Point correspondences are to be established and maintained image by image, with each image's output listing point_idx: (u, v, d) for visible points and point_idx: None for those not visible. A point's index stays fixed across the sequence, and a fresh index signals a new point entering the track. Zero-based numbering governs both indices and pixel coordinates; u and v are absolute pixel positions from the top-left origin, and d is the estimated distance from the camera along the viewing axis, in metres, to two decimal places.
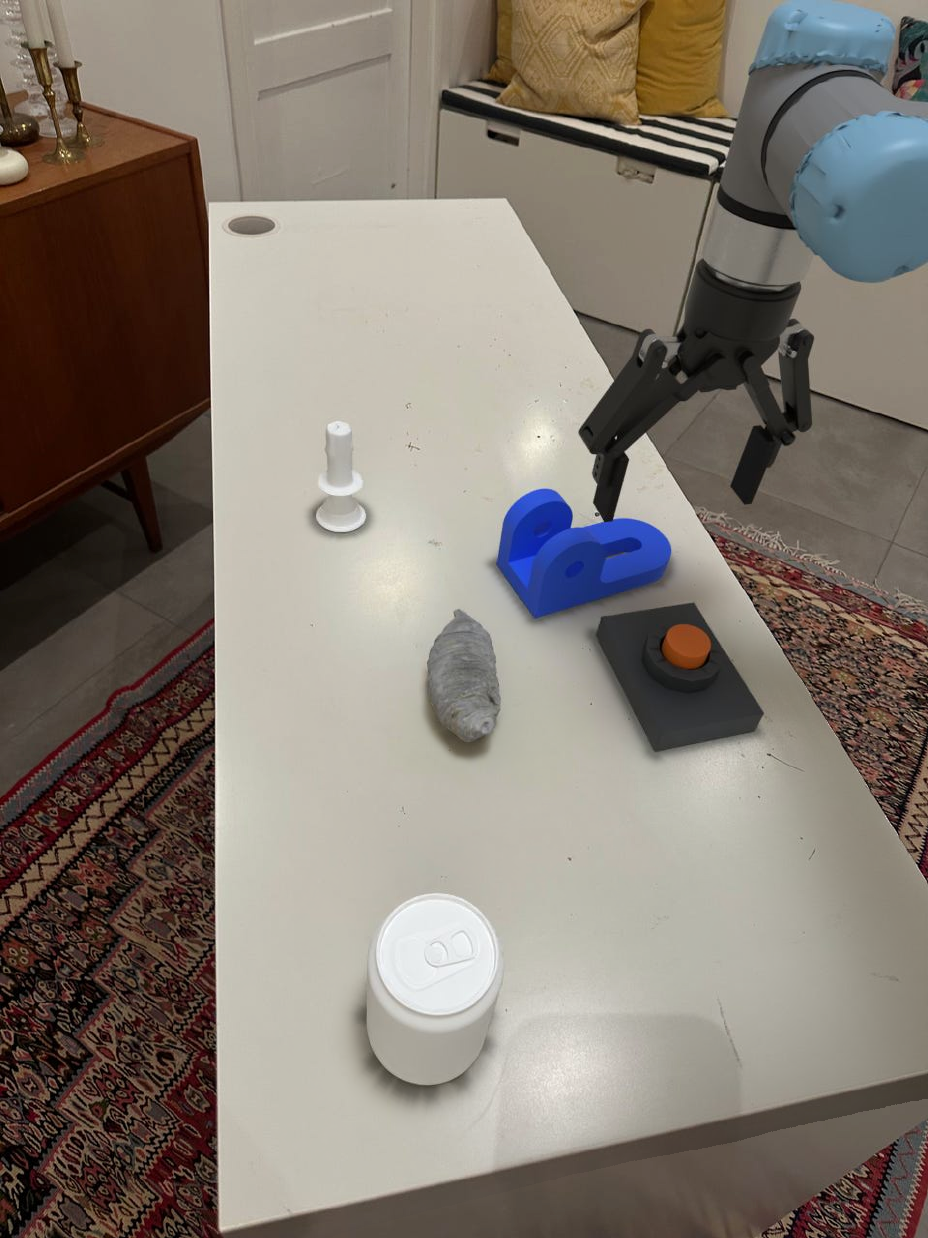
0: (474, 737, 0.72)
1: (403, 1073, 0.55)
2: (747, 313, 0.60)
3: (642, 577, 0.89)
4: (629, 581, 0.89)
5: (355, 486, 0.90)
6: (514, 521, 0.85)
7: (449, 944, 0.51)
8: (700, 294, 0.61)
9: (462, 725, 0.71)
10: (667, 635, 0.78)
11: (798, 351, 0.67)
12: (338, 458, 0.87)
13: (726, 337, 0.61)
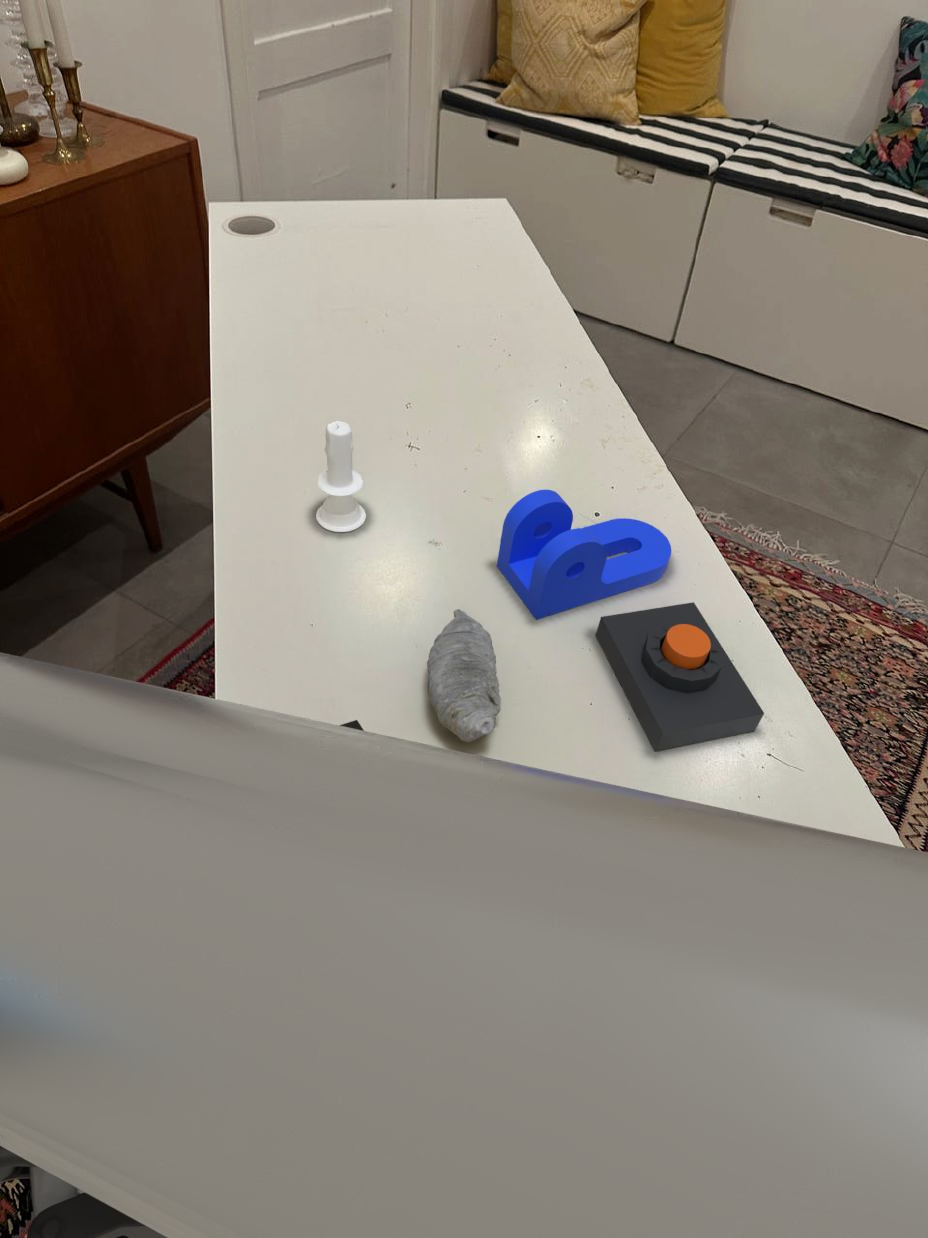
0: (474, 737, 0.72)
1: None
2: None
3: (643, 577, 0.89)
4: (629, 581, 0.89)
5: (355, 486, 0.90)
6: (515, 522, 0.85)
7: None
8: None
9: (462, 725, 0.71)
10: (667, 635, 0.78)
11: None
12: (338, 458, 0.87)
13: None
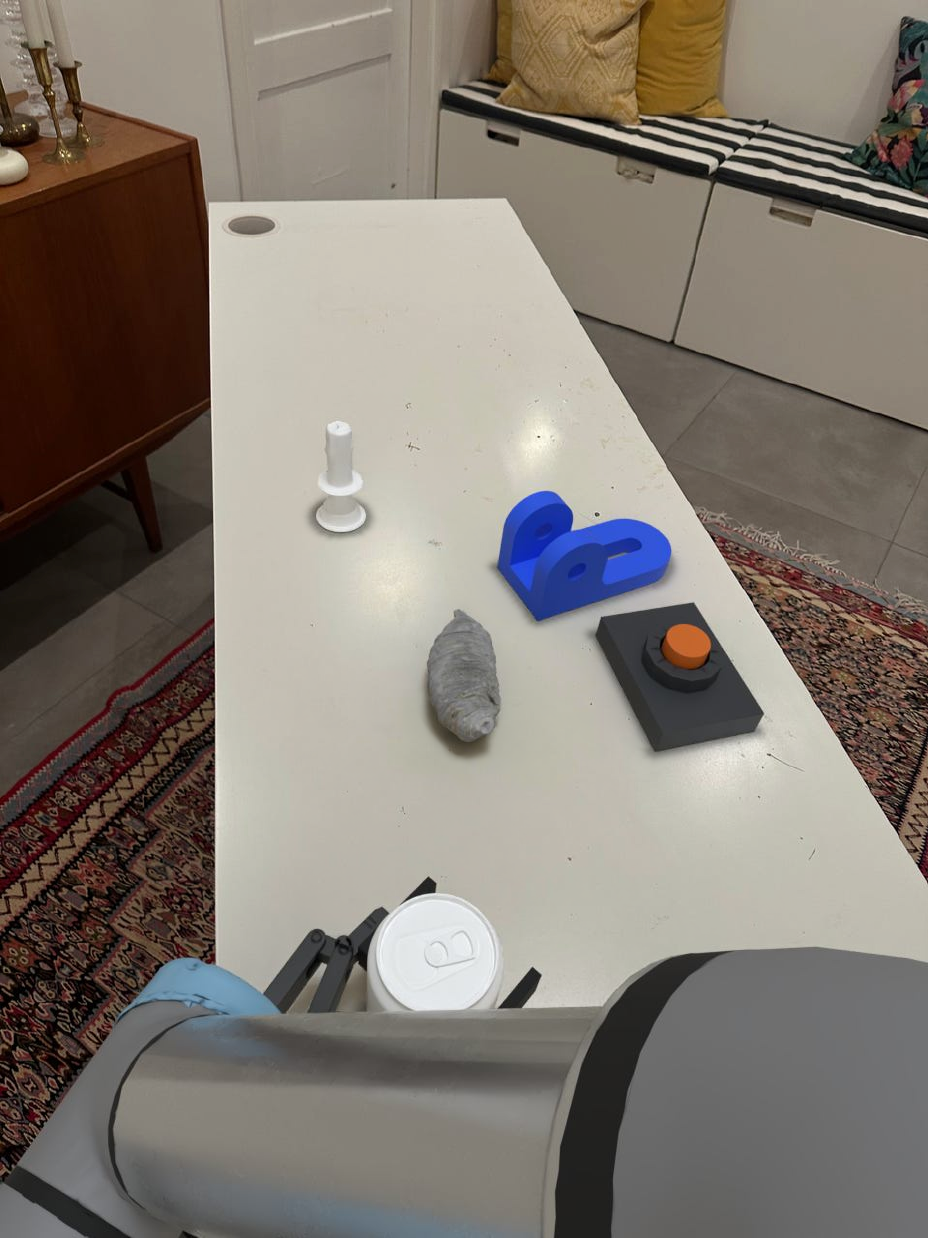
0: (474, 737, 0.72)
1: None
2: None
3: (643, 577, 0.89)
4: (630, 581, 0.89)
5: (355, 486, 0.90)
6: (515, 524, 0.85)
7: (449, 944, 0.51)
8: None
9: (462, 725, 0.71)
10: (667, 635, 0.78)
11: None
12: (338, 458, 0.87)
13: None
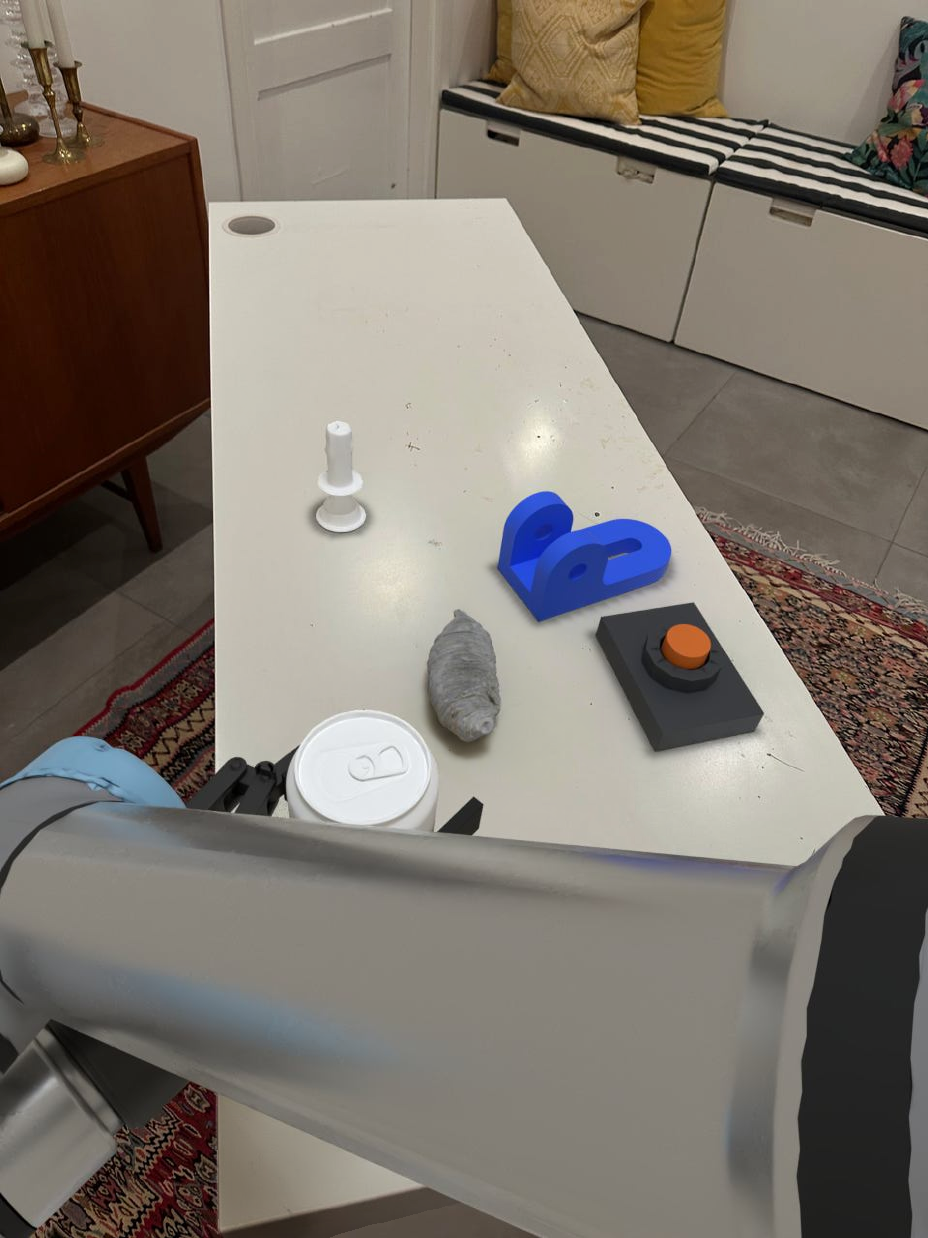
0: (474, 737, 0.72)
1: None
2: (111, 1048, 0.37)
3: (643, 578, 0.89)
4: (630, 582, 0.89)
5: (355, 486, 0.90)
6: (516, 524, 0.85)
7: (377, 758, 0.46)
8: (155, 1105, 0.38)
9: (462, 725, 0.71)
10: (667, 635, 0.78)
11: None
12: (338, 458, 0.87)
13: None
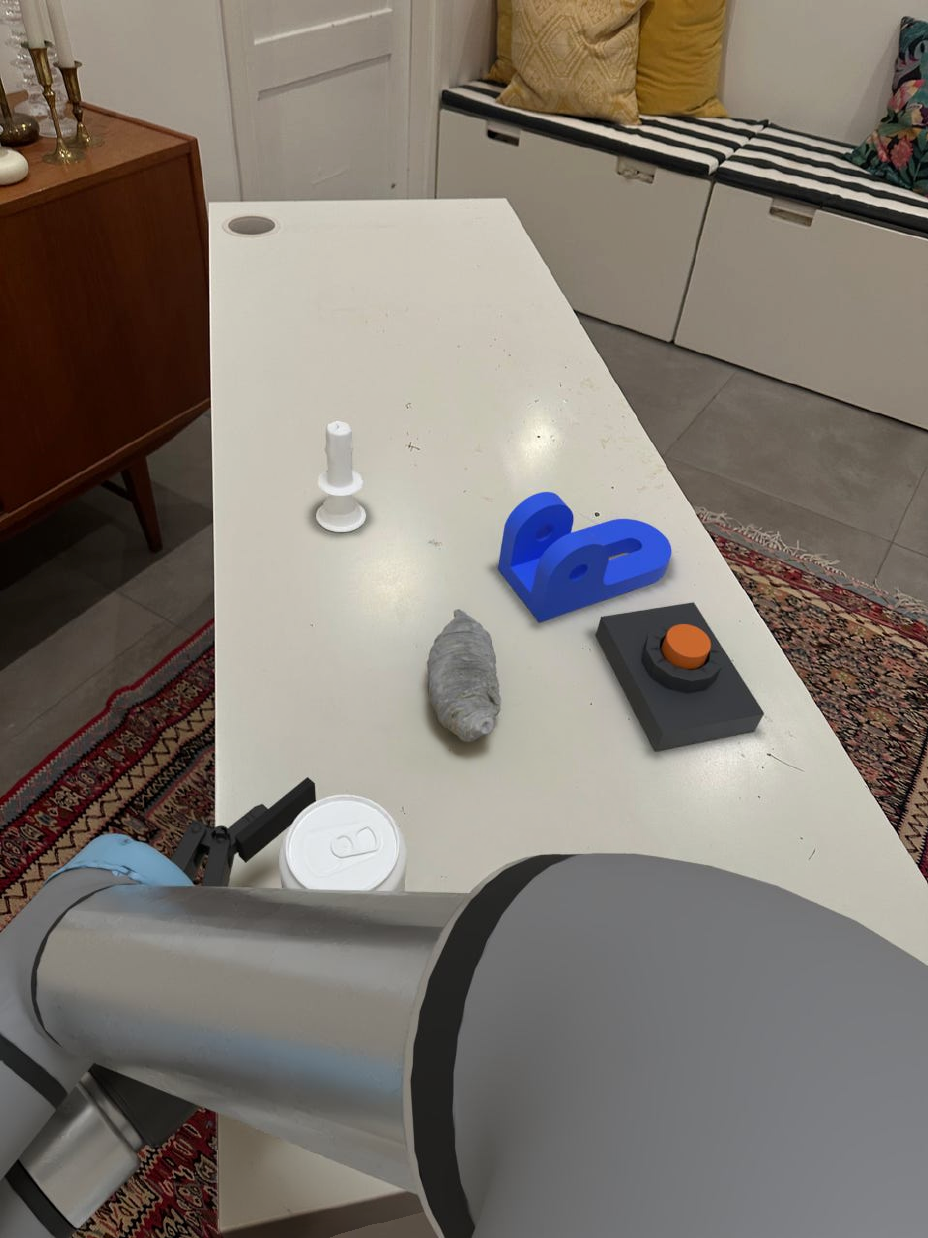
0: (474, 737, 0.72)
1: None
2: (136, 1083, 0.46)
3: (644, 578, 0.89)
4: (631, 582, 0.89)
5: (355, 486, 0.90)
6: (516, 525, 0.84)
7: (354, 838, 0.55)
8: (171, 1128, 0.47)
9: (462, 725, 0.71)
10: (667, 635, 0.78)
11: None
12: (338, 458, 0.87)
13: None
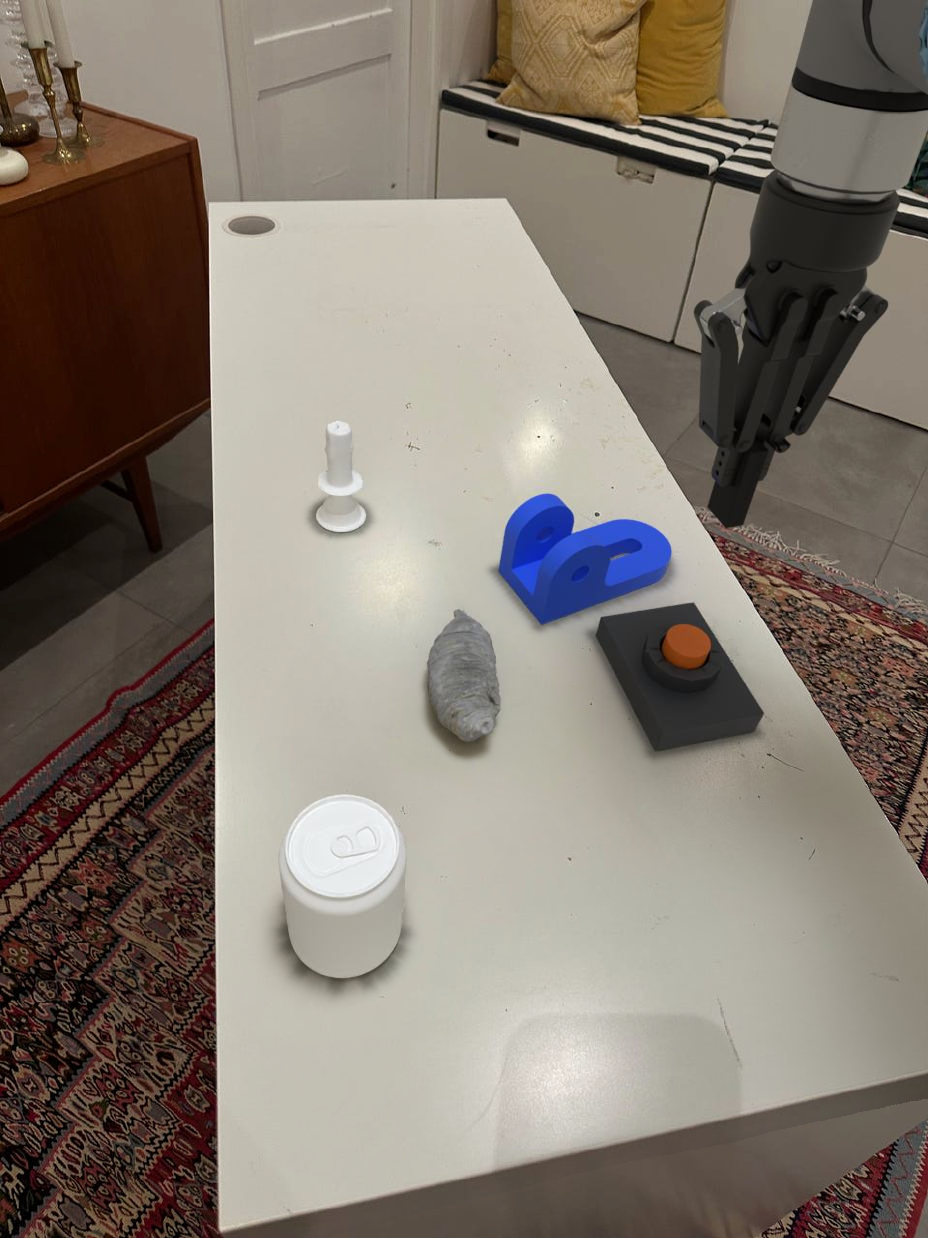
0: (474, 737, 0.72)
1: (318, 965, 0.59)
2: (837, 231, 0.47)
3: (645, 578, 0.89)
4: (632, 582, 0.89)
5: (355, 486, 0.90)
6: (517, 527, 0.84)
7: (354, 838, 0.55)
8: (773, 214, 0.48)
9: (462, 725, 0.71)
10: (667, 635, 0.78)
11: (866, 315, 0.55)
12: (338, 458, 0.87)
13: (809, 266, 0.49)
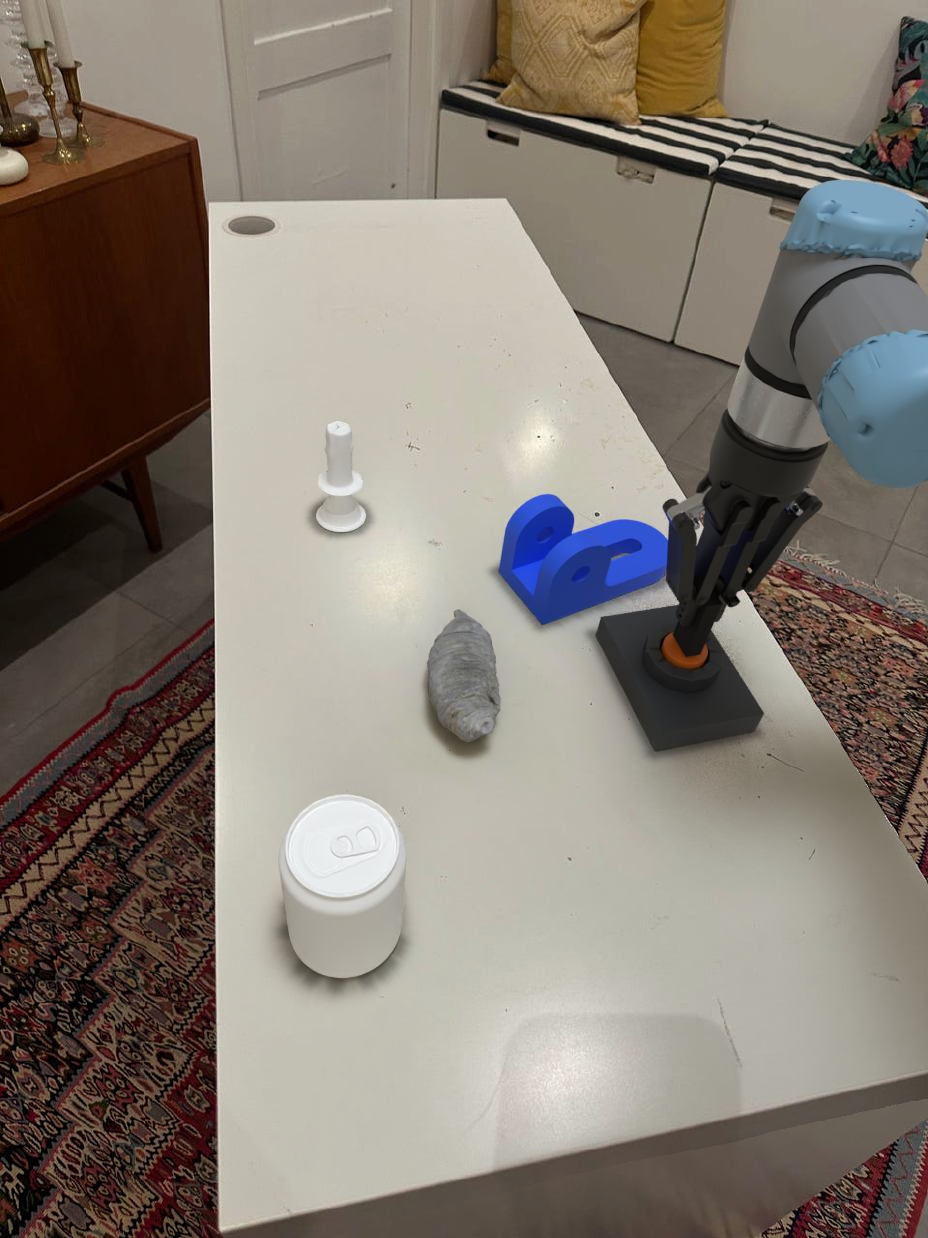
0: (474, 737, 0.72)
1: (318, 965, 0.59)
2: (774, 472, 0.59)
3: (645, 578, 0.89)
4: (632, 582, 0.89)
5: (355, 486, 0.90)
6: (517, 528, 0.84)
7: (354, 838, 0.55)
8: (726, 449, 0.61)
9: (462, 725, 0.71)
10: (664, 642, 0.78)
11: (804, 512, 0.67)
12: (338, 458, 0.87)
13: (752, 492, 0.61)
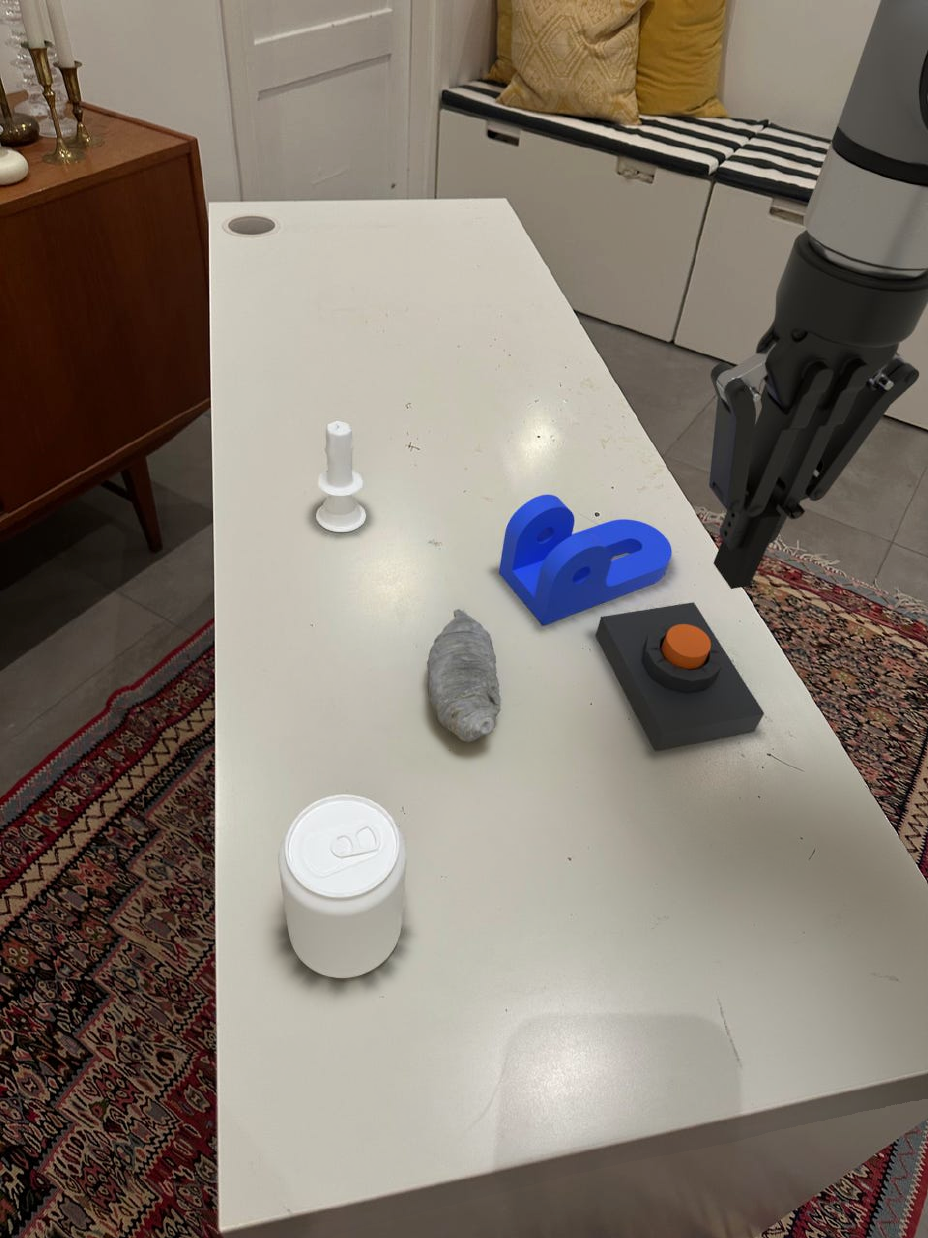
0: (474, 737, 0.72)
1: (318, 965, 0.59)
2: (870, 307, 0.44)
3: (645, 578, 0.89)
4: (633, 583, 0.89)
5: (355, 486, 0.90)
6: (518, 529, 0.84)
7: (354, 838, 0.55)
8: (801, 282, 0.45)
9: (462, 725, 0.71)
10: (667, 635, 0.78)
11: (894, 385, 0.51)
12: (338, 458, 0.87)
13: (837, 340, 0.45)
